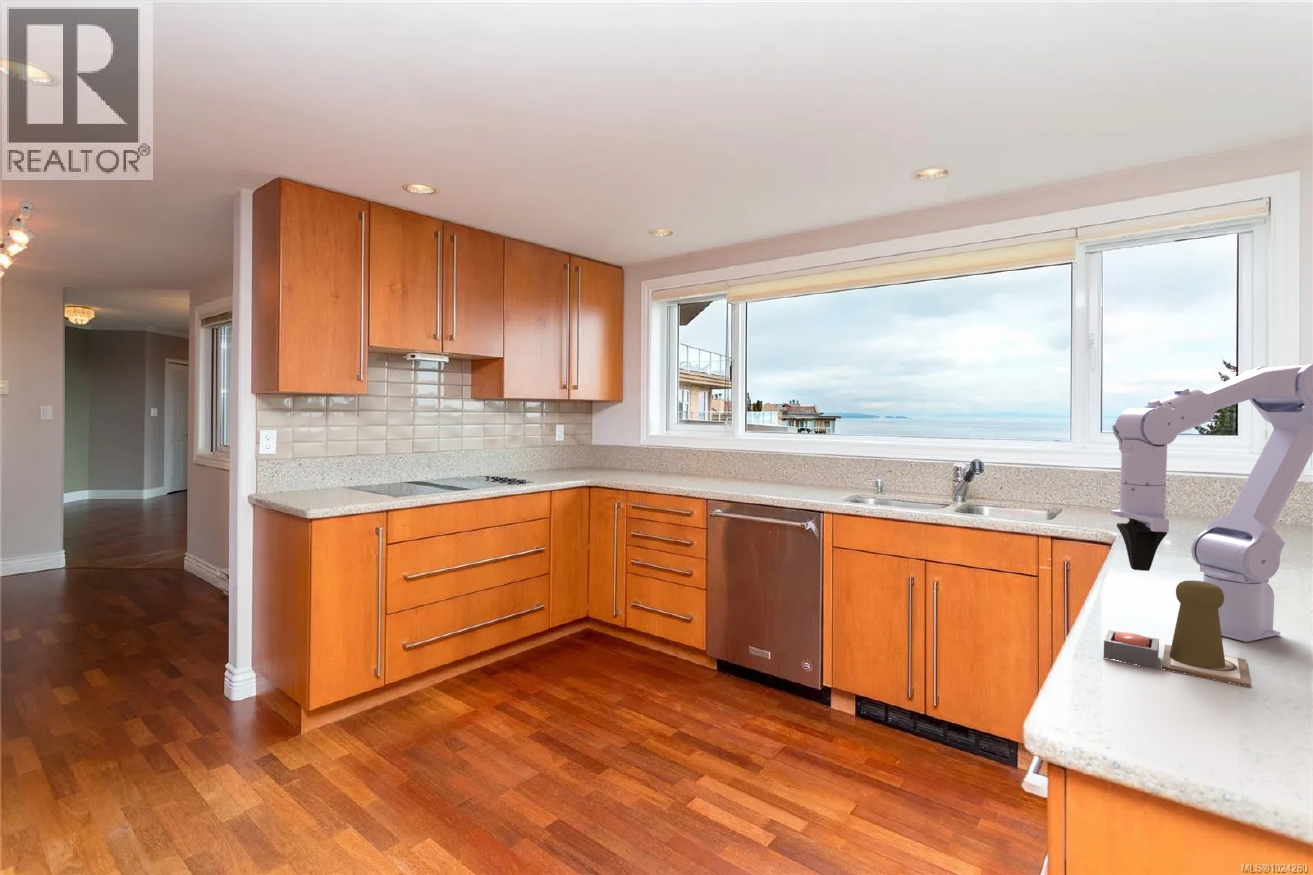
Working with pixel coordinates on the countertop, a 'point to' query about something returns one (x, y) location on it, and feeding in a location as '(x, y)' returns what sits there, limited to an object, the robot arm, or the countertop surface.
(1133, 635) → the button
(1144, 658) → the button housing
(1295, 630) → the countertop surface
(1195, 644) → the brown tapered cone
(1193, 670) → the sketch board
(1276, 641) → the countertop surface
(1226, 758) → the countertop surface
